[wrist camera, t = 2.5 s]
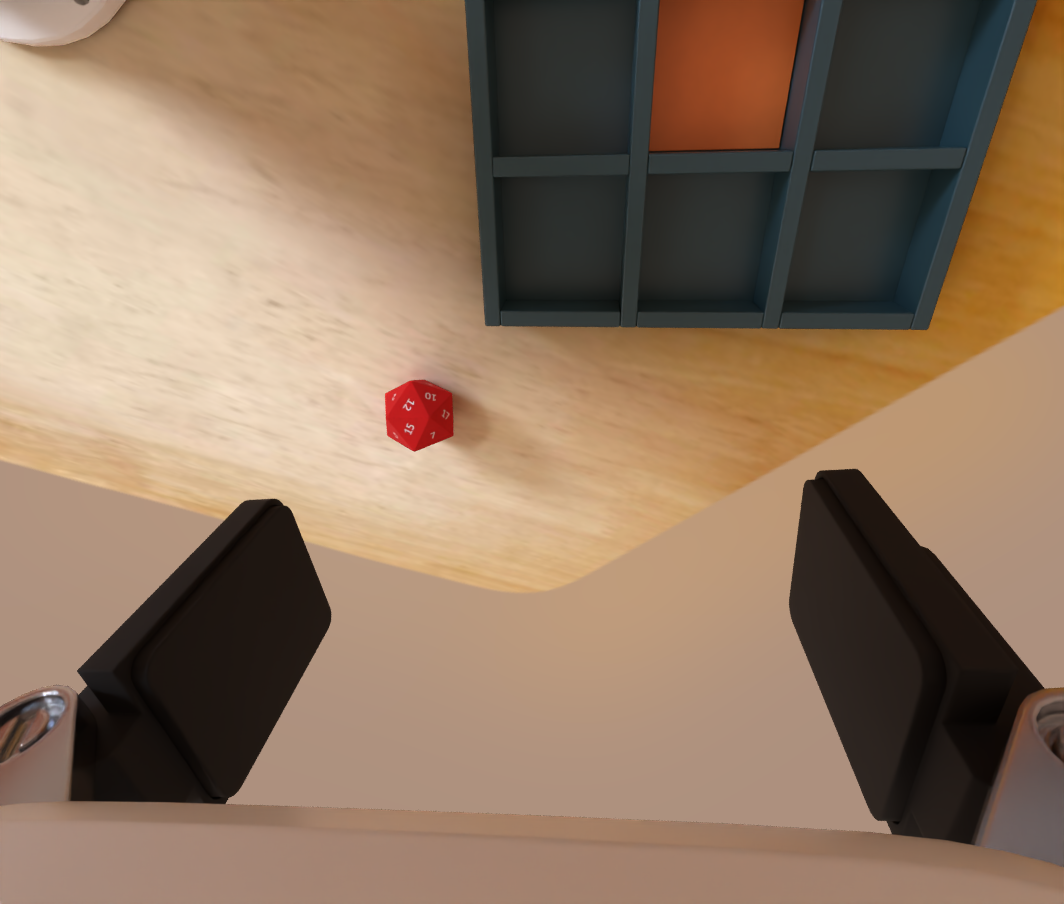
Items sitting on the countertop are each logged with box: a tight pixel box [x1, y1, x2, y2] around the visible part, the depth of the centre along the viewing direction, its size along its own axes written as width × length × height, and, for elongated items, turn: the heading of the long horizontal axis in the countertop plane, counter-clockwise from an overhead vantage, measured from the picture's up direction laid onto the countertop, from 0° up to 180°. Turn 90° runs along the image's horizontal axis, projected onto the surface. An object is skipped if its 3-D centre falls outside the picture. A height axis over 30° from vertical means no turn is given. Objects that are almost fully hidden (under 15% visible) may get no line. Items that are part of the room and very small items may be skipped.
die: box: [385, 380, 454, 451], centre depth 28 cm, size 4×4×4 cm
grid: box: [465, 0, 1037, 330], centre depth 20 cm, size 18×18×2 cm
